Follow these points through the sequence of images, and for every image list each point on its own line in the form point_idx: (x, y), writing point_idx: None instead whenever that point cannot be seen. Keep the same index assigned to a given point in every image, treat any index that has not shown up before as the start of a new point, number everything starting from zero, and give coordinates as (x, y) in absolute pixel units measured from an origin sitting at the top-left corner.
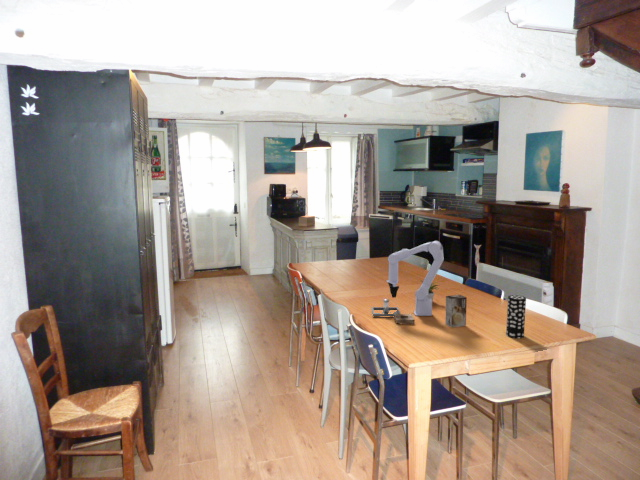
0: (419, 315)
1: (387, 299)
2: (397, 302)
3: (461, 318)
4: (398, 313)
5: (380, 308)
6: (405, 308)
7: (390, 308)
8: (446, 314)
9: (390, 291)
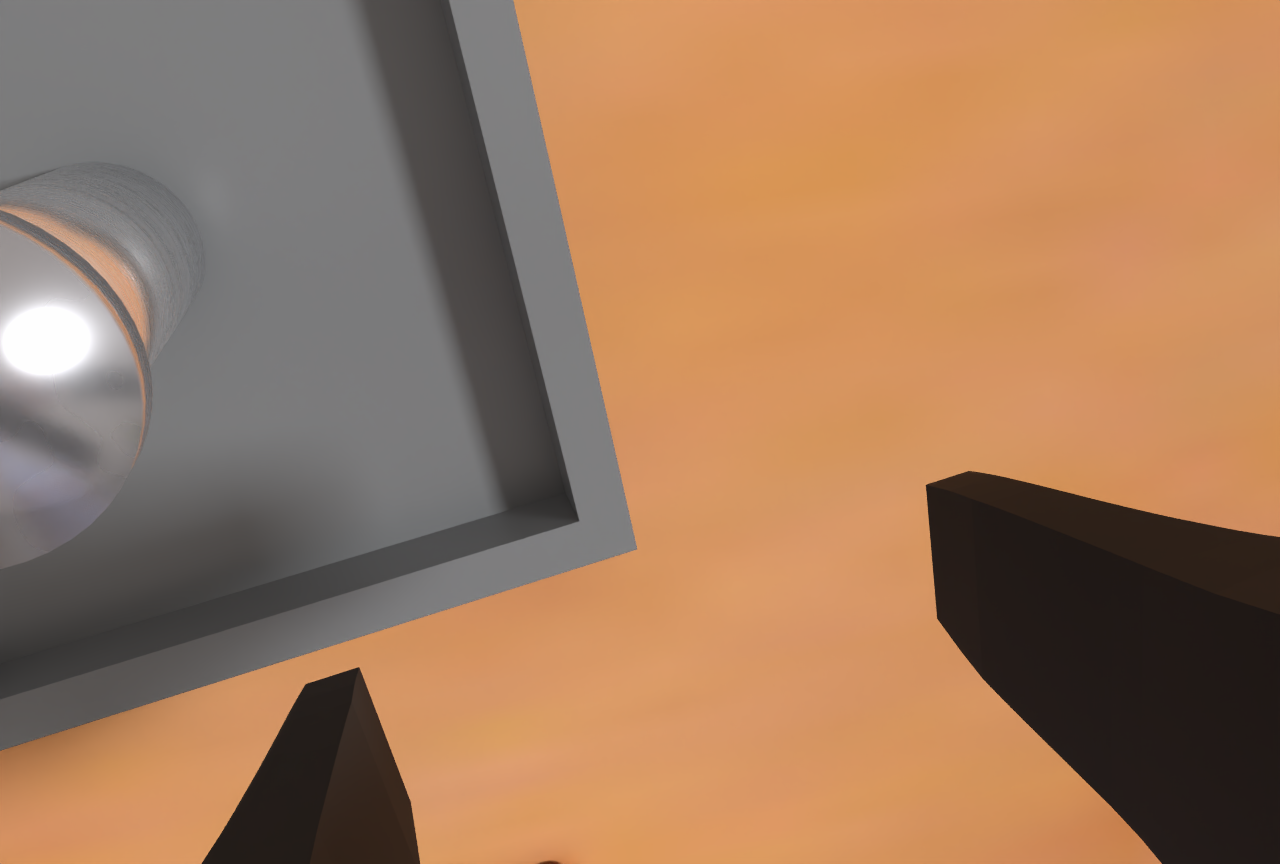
0: None
1: (63, 454)
2: (1269, 372)
3: None
4: (38, 675)
5: (443, 2)
6: (815, 636)
7: (530, 346)
8: None
9: (1011, 519)
